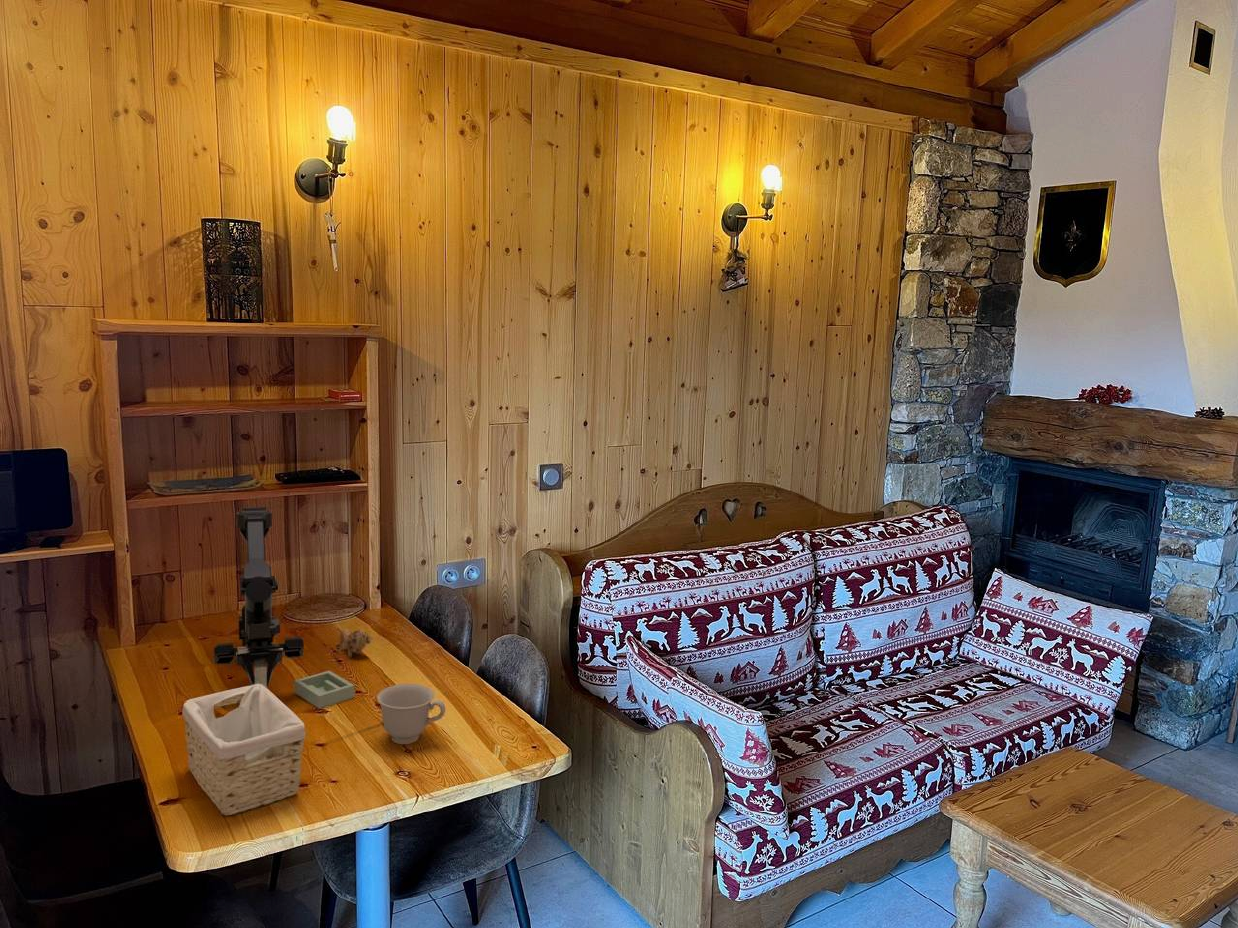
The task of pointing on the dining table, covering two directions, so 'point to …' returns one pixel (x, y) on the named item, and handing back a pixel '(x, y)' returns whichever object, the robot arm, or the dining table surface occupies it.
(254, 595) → the robot arm
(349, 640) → the lion figurine
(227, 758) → the storage basket
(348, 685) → the storage box
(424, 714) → the teacup
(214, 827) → the dining table surface
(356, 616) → the dining table surface
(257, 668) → the rectangular steel block
